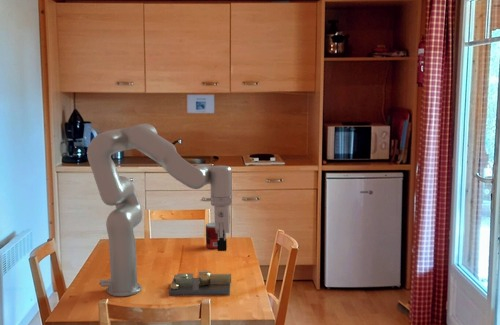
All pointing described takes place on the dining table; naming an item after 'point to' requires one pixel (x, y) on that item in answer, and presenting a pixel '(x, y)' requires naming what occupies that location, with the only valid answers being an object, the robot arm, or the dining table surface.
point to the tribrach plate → (196, 286)
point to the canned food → (211, 236)
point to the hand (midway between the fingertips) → (222, 250)
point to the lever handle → (213, 278)
